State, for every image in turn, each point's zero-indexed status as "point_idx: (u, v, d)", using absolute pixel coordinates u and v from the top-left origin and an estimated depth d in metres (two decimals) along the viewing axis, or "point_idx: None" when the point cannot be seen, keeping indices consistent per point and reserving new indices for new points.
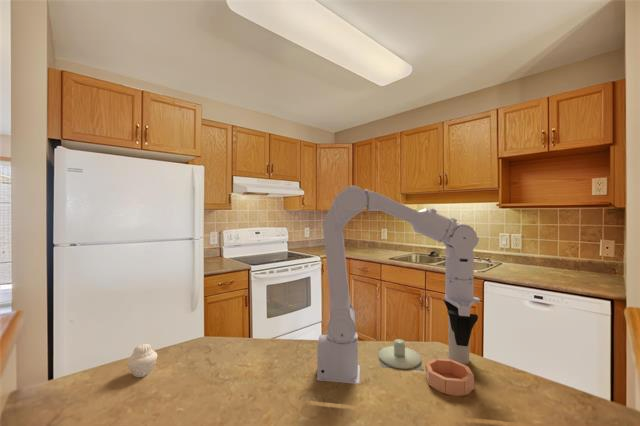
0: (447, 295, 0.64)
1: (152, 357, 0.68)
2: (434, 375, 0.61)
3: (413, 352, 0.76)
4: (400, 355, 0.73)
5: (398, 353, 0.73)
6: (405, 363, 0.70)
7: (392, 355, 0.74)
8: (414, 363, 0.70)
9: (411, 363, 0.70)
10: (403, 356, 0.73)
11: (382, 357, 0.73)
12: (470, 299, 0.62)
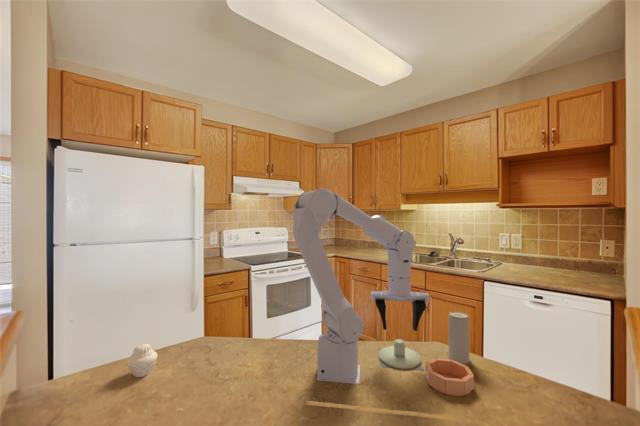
0: None
1: (152, 357, 0.68)
2: (434, 375, 0.61)
3: (413, 352, 0.76)
4: (400, 355, 0.73)
5: (398, 353, 0.73)
6: (405, 363, 0.70)
7: (392, 355, 0.74)
8: (414, 363, 0.70)
9: (411, 363, 0.70)
10: (403, 356, 0.73)
11: (382, 357, 0.73)
12: (392, 294, 0.73)
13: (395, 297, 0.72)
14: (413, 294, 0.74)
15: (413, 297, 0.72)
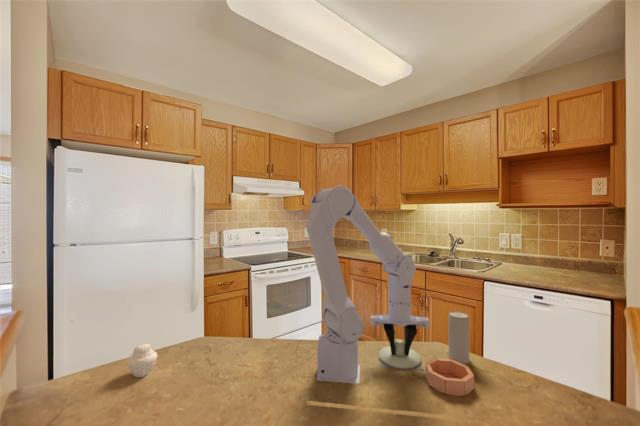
0: None
1: (152, 357, 0.68)
2: (434, 375, 0.61)
3: (413, 352, 0.76)
4: (400, 355, 0.73)
5: (398, 353, 0.73)
6: (405, 363, 0.70)
7: (392, 355, 0.74)
8: (414, 363, 0.70)
9: (411, 363, 0.70)
10: (403, 356, 0.73)
11: (382, 357, 0.73)
12: (392, 319, 0.73)
13: (395, 322, 0.72)
14: (413, 319, 0.74)
15: (413, 322, 0.72)
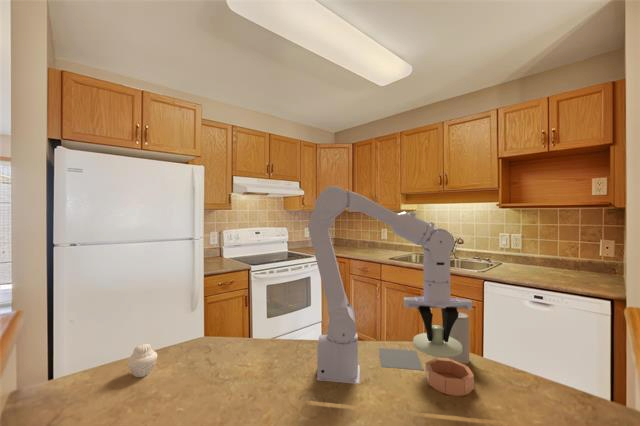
0: None
1: (152, 357, 0.68)
2: (434, 375, 0.61)
3: (451, 339, 0.68)
4: (439, 342, 0.65)
5: (436, 340, 0.65)
6: (446, 351, 0.62)
7: (429, 343, 0.66)
8: (457, 350, 0.62)
9: (453, 351, 0.62)
10: (442, 343, 0.65)
11: (418, 345, 0.65)
12: (429, 300, 0.64)
13: (433, 304, 0.63)
14: (453, 301, 0.65)
15: (454, 304, 0.63)
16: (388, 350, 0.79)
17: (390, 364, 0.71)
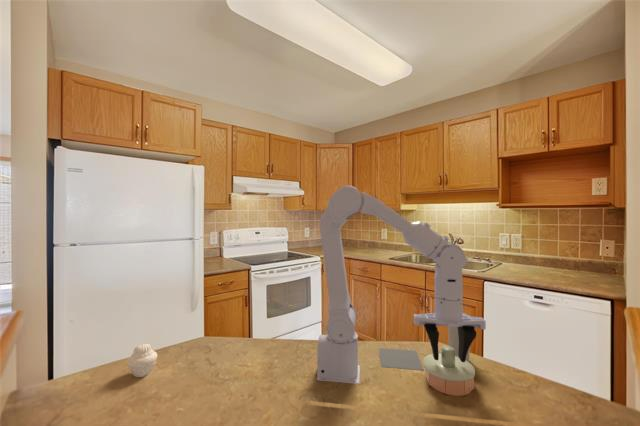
0: None
1: (152, 357, 0.68)
2: None
3: None
4: (450, 364, 0.62)
5: (448, 362, 0.63)
6: (459, 375, 0.60)
7: (440, 365, 0.63)
8: (469, 374, 0.60)
9: (466, 374, 0.60)
10: (453, 366, 0.63)
11: (429, 367, 0.62)
12: (440, 318, 0.62)
13: (445, 323, 0.61)
14: (465, 319, 0.63)
15: (466, 323, 0.61)
16: (388, 350, 0.79)
17: (390, 364, 0.71)
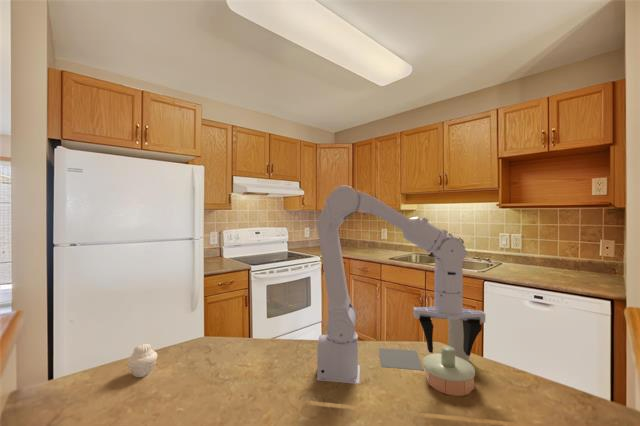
0: None
1: (152, 357, 0.68)
2: None
3: (463, 361, 0.65)
4: (450, 364, 0.62)
5: (448, 362, 0.63)
6: (459, 375, 0.60)
7: (440, 365, 0.63)
8: (469, 374, 0.60)
9: (466, 374, 0.60)
10: (453, 366, 0.63)
11: (429, 367, 0.62)
12: (440, 311, 0.62)
13: (445, 315, 0.61)
14: (465, 312, 0.63)
15: (466, 316, 0.61)
16: (388, 350, 0.79)
17: (390, 364, 0.71)
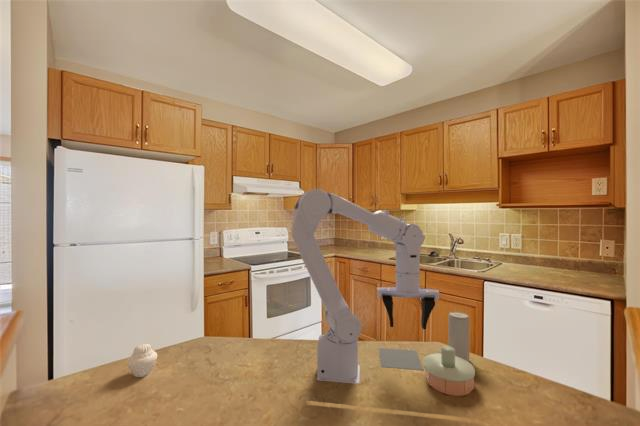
0: None
1: (152, 357, 0.68)
2: None
3: (463, 361, 0.65)
4: (450, 364, 0.62)
5: (448, 362, 0.63)
6: (459, 375, 0.60)
7: (440, 365, 0.63)
8: (469, 374, 0.60)
9: (466, 374, 0.60)
10: (453, 366, 0.63)
11: (429, 367, 0.62)
12: (399, 290, 0.70)
13: (403, 293, 0.69)
14: (422, 291, 0.71)
15: (422, 294, 0.69)
16: (388, 350, 0.79)
17: (390, 364, 0.71)
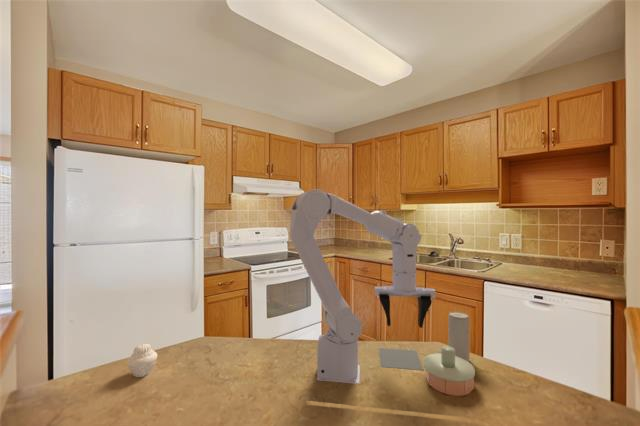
0: None
1: (152, 357, 0.68)
2: None
3: (463, 361, 0.65)
4: (450, 364, 0.62)
5: (448, 362, 0.63)
6: (459, 375, 0.60)
7: (440, 365, 0.63)
8: (469, 374, 0.60)
9: (466, 374, 0.60)
10: (453, 366, 0.63)
11: (429, 367, 0.62)
12: (396, 289, 0.71)
13: (399, 292, 0.70)
14: (418, 290, 0.72)
15: (418, 292, 0.70)
16: (388, 350, 0.79)
17: (390, 364, 0.71)
